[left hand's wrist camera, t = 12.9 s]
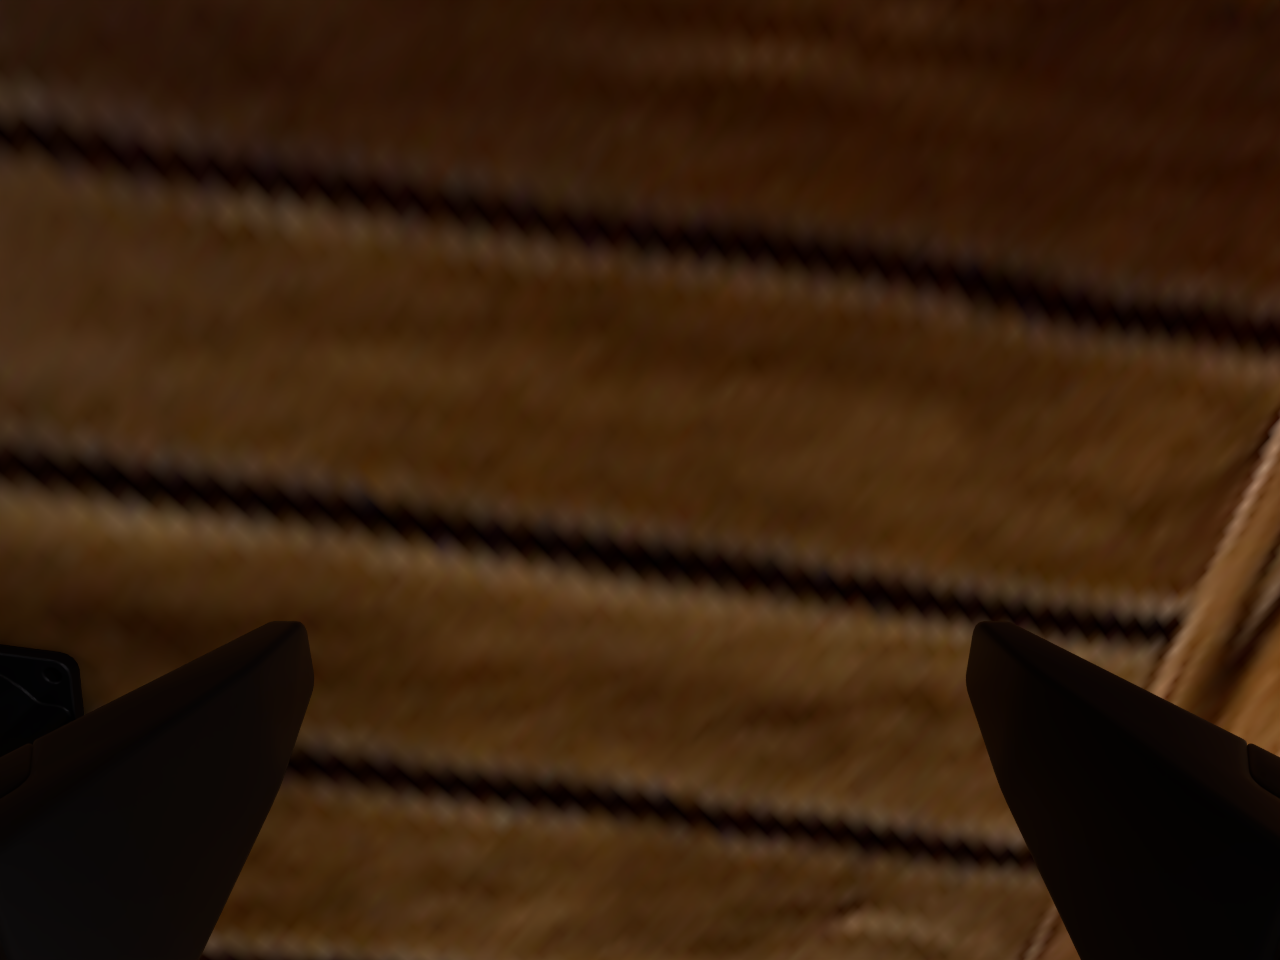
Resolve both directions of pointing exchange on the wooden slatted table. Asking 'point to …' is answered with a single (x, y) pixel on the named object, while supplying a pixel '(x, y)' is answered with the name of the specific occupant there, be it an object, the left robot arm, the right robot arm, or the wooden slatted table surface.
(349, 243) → the wooden slatted table surface
